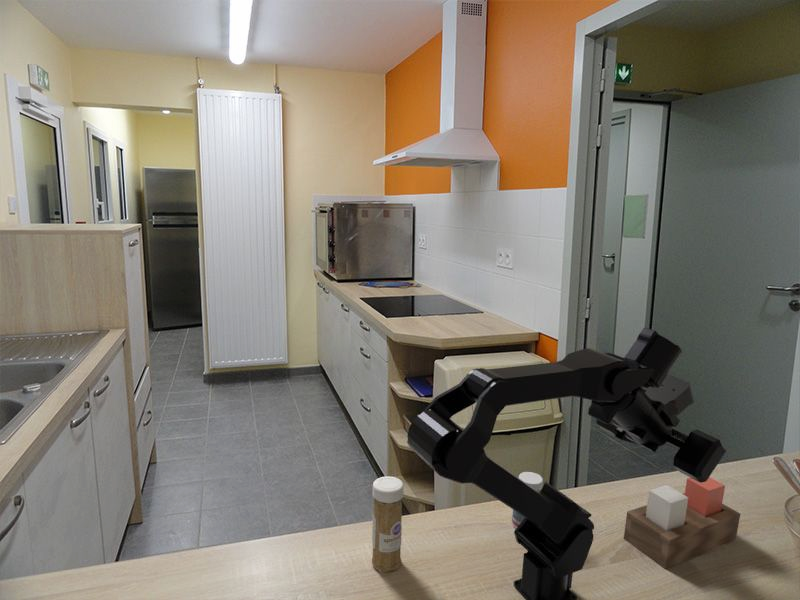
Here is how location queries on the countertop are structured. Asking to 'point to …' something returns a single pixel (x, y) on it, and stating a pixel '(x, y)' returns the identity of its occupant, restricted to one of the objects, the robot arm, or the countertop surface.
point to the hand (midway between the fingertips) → (678, 458)
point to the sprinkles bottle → (387, 523)
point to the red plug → (704, 496)
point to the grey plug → (666, 507)
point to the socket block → (681, 535)
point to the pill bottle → (534, 482)
